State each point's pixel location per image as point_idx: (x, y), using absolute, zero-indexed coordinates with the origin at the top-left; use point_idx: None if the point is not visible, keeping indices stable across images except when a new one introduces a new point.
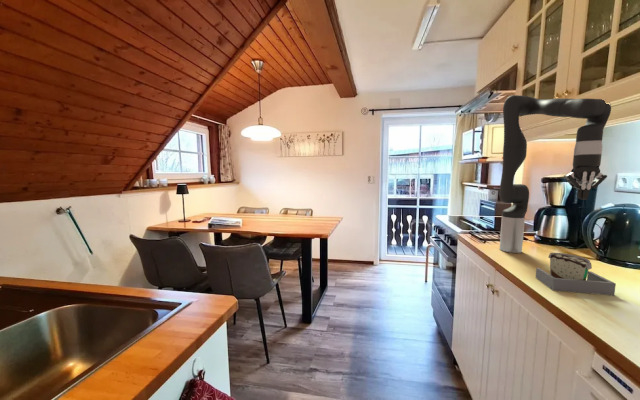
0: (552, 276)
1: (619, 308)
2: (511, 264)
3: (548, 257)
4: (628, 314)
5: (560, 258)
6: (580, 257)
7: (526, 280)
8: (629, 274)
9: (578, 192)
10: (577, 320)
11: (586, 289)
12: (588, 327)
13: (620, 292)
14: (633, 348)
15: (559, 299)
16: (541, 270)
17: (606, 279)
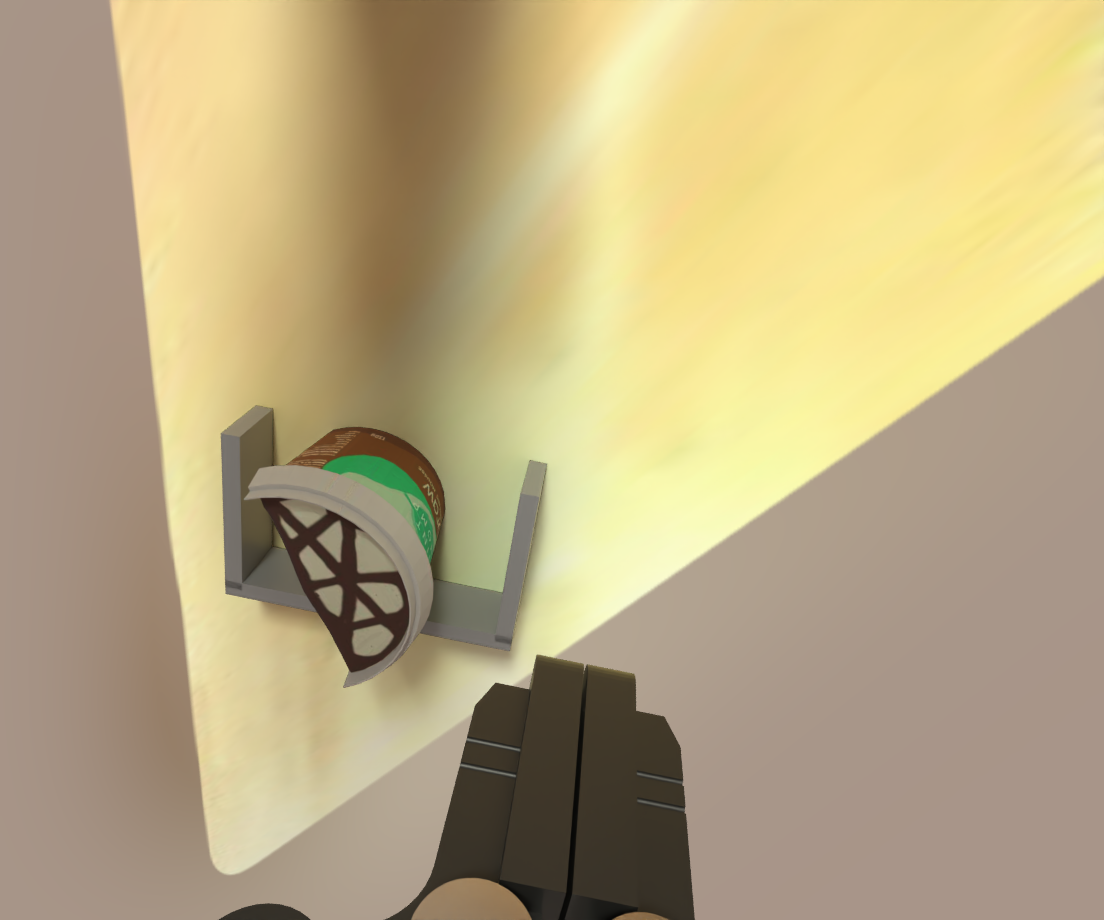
0: (238, 565)
1: (424, 702)
2: (213, 126)
3: (259, 470)
4: (415, 736)
5: (289, 547)
6: (404, 582)
7: (184, 439)
8: (981, 333)
9: (445, 826)
10: (200, 758)
11: None
12: (208, 788)
13: (586, 581)
14: (258, 860)
15: (232, 634)
16: (226, 480)
17: (512, 606)
